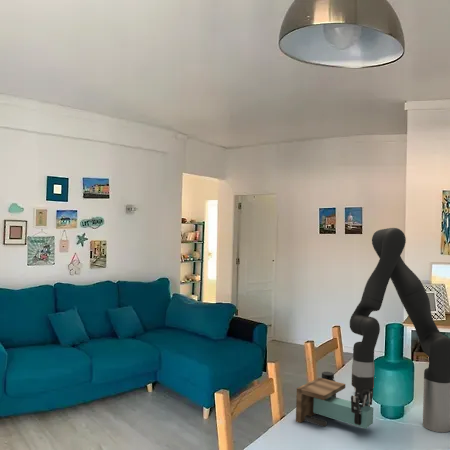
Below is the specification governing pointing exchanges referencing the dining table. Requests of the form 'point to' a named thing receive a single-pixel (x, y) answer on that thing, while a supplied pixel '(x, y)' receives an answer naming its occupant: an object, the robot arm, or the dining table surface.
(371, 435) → the dining table surface
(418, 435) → the dining table surface
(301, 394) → the wall shelf
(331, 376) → the supplement bottle
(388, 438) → the dining table surface
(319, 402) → the pale green long block
